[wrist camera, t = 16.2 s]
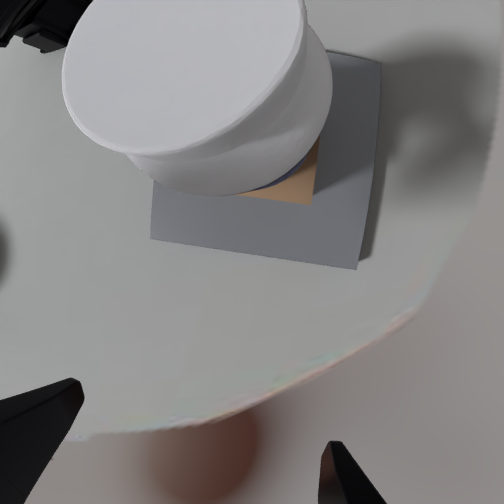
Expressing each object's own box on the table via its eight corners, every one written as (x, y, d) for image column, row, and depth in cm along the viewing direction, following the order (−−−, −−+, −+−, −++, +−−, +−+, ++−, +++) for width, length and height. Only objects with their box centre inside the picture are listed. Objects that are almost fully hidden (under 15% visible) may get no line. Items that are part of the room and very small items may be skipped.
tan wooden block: (221, 95, 17) (198, 69, 12) (316, 105, 16) (325, 79, 11) (209, 186, 18) (181, 189, 13) (305, 198, 18) (311, 205, 13)
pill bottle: (337, 140, 12) (439, 56, 3) (244, 213, 13) (139, 290, 4) (260, 56, 11) (206, -100, 2) (173, 127, 13) (6, 74, 3)
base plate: (180, 51, 17) (174, 45, 16) (376, 69, 16) (381, 63, 15) (157, 235, 21) (150, 238, 20) (352, 264, 19) (356, 269, 18)
